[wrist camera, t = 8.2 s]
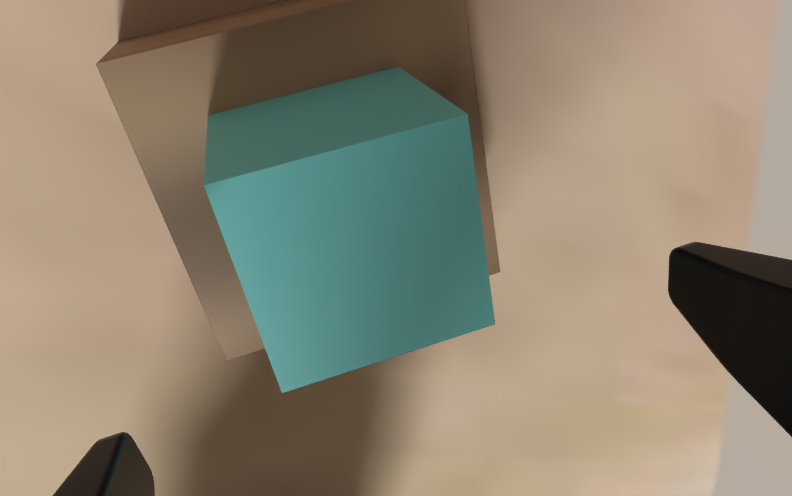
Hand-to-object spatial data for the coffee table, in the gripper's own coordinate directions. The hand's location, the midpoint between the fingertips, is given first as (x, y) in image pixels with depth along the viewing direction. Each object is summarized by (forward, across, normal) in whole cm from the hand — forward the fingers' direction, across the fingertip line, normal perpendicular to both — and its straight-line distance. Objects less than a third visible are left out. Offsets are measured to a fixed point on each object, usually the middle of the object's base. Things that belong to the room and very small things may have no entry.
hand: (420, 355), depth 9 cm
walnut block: (+12, 0, 0) cm, 12 cm away
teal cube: (+8, 0, 0) cm, 8 cm away
